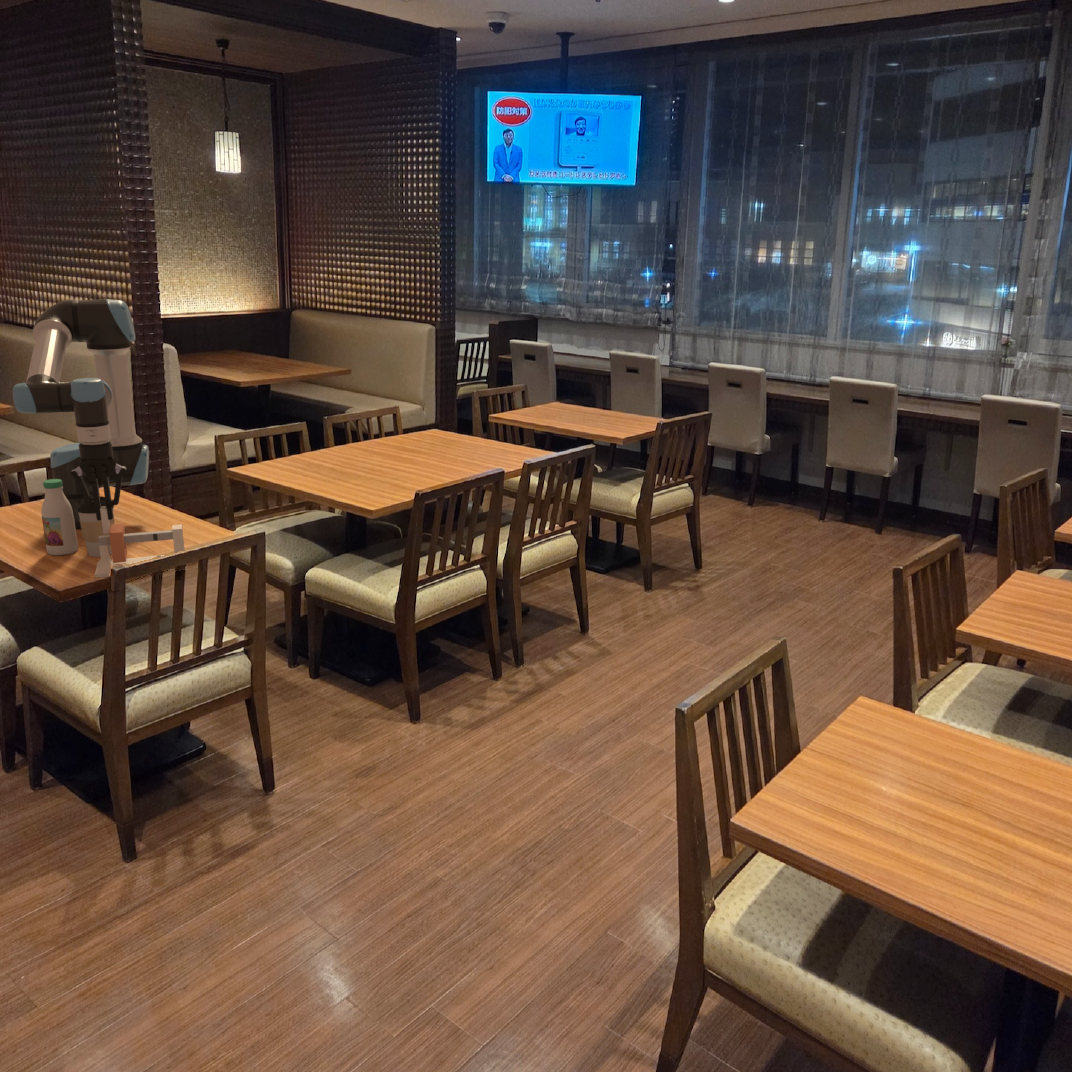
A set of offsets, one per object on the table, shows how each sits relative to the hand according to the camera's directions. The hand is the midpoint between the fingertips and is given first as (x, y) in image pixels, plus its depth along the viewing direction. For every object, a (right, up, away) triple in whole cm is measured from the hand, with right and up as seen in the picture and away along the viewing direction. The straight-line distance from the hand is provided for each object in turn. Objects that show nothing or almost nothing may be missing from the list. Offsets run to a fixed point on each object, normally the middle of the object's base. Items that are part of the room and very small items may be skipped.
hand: (106, 531), depth 245 cm
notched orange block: (+2, -3, +2) cm, 4 cm away
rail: (+7, -9, +6) cm, 13 cm away
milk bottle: (-19, -5, +16) cm, 26 cm away
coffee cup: (-8, -6, +16) cm, 19 cm away
